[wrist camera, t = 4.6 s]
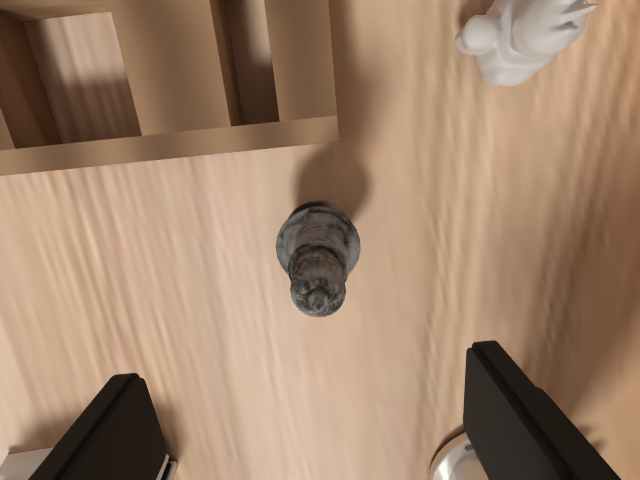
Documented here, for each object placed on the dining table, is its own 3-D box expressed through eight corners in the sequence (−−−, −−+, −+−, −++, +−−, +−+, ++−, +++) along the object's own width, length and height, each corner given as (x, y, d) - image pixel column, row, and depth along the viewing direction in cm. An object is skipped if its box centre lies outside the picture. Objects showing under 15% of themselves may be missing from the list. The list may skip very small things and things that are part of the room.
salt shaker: (320, 181, 25) (320, 220, 14) (370, 235, 27) (408, 311, 15) (266, 232, 27) (226, 307, 15) (316, 281, 28) (315, 384, 17)
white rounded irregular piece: (531, 91, 24) (632, 71, 16) (437, 89, 24) (495, 68, 16) (549, 1, 22) (671, -69, 14) (448, -2, 22) (518, -73, 14)
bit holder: (321, -42, 21) (322, -80, 17) (336, 139, 24) (339, 141, 21) (-17, -2, 22) (-88, -31, 18) (42, 169, 25) (-7, 176, 21)
